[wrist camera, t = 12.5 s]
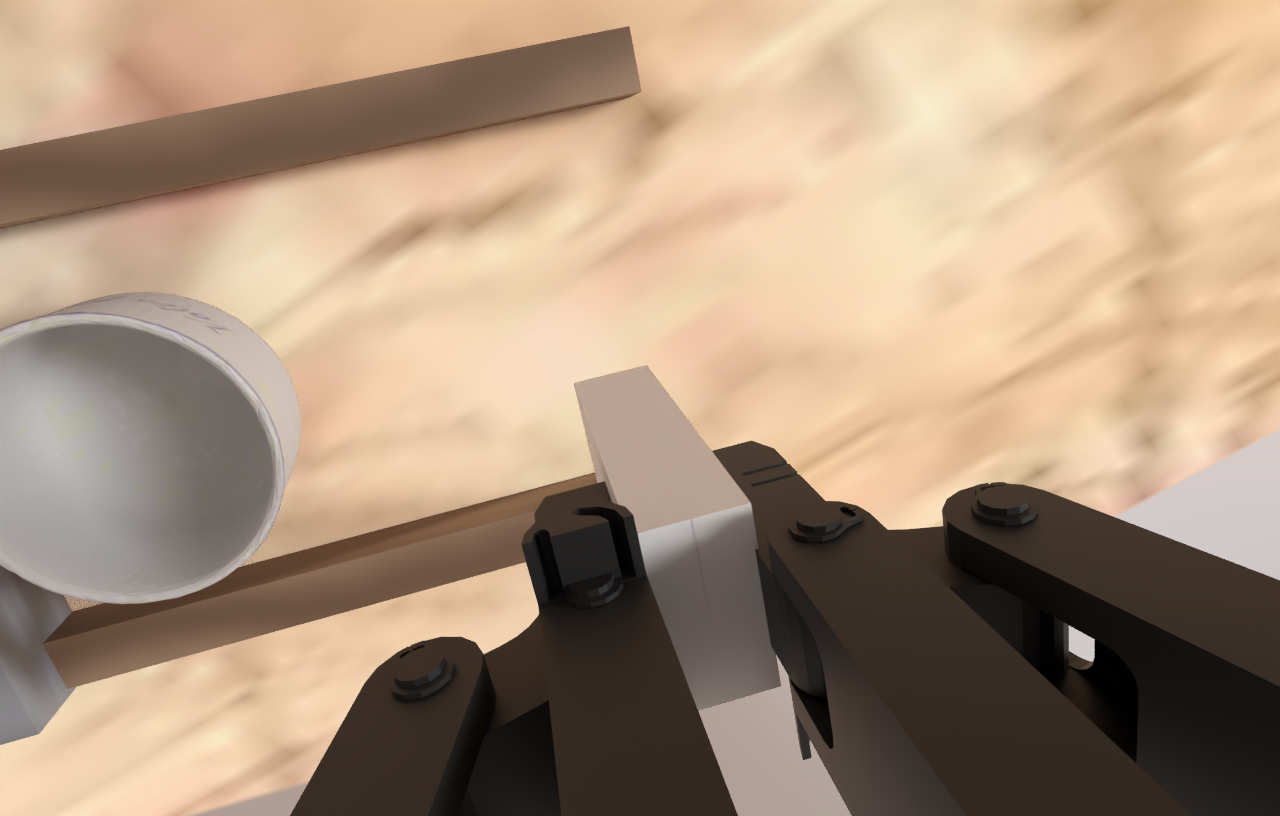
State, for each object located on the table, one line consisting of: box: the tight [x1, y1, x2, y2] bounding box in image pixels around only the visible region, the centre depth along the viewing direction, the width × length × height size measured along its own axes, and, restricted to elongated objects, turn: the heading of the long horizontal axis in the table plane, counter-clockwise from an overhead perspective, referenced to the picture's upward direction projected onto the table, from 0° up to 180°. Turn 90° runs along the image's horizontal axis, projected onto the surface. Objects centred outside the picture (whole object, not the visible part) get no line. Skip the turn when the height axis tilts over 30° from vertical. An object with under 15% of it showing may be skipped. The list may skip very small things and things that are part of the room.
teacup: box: [0, 292, 301, 604], centre depth 29 cm, size 14×11×8 cm
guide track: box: [0, 26, 641, 745], centre depth 32 cm, size 22×32×5 cm
